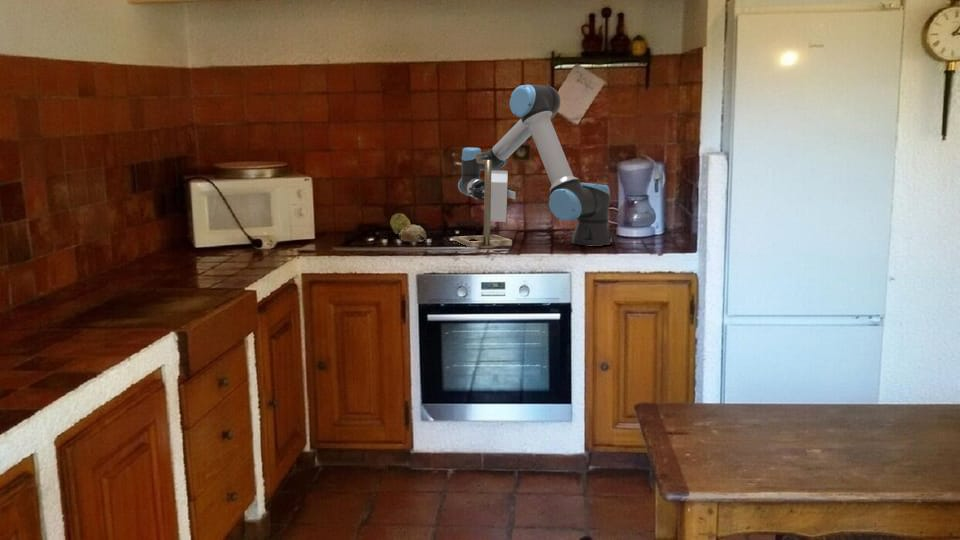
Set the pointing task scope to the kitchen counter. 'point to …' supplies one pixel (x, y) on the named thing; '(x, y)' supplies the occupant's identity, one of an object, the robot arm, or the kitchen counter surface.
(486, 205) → the hook post
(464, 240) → the shelf board
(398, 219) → the green oval lump
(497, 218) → the milk carton
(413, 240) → the bread roll
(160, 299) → the kitchen counter surface
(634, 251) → the kitchen counter surface
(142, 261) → the kitchen counter surface
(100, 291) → the kitchen counter surface
